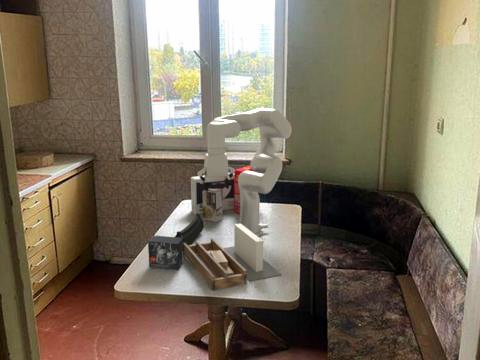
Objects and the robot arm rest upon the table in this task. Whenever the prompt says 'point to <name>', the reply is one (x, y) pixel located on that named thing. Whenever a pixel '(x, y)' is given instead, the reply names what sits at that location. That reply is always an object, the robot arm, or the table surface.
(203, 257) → the rack
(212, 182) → the packaging
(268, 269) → the mat
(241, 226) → the cream rectangular panel
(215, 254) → the offcut short
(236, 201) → the food packaging
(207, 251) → the offcut long
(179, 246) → the small box
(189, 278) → the table surface
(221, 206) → the coffee box
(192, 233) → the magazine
